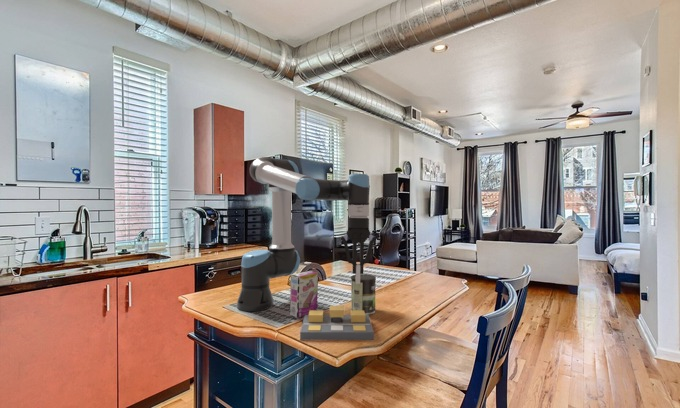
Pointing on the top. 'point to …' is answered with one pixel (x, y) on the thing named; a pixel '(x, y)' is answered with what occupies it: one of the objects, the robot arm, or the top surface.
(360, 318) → the button
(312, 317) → the button
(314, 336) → the board
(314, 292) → the candy bar box
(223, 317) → the top surface
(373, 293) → the coffee can
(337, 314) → the button
